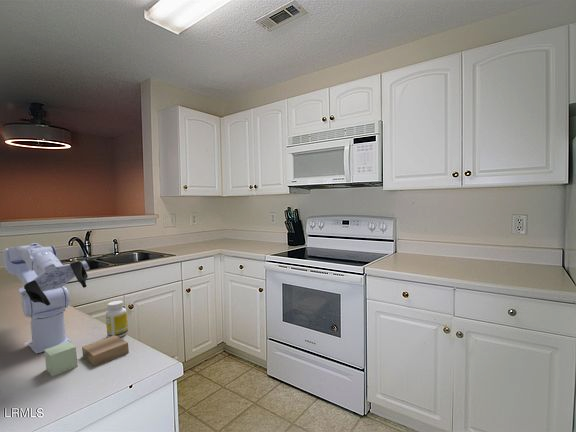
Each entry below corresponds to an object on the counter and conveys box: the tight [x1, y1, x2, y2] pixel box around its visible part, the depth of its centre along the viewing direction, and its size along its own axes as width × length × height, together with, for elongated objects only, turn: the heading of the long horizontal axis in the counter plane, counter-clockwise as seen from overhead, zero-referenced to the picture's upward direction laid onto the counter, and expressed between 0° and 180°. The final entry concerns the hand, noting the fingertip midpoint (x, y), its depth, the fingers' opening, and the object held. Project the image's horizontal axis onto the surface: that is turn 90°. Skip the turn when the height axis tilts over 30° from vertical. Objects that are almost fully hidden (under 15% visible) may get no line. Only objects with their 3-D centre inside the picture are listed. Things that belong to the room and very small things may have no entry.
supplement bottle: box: [105, 300, 129, 338], centre depth 91 cm, size 5×5×10 cm
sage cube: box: [43, 342, 78, 377], centre depth 73 cm, size 5×5×5 cm
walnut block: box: [81, 335, 130, 367], centre depth 79 cm, size 8×8×3 cm
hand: (66, 292), depth 72 cm, fingers open, 7 cm apart
